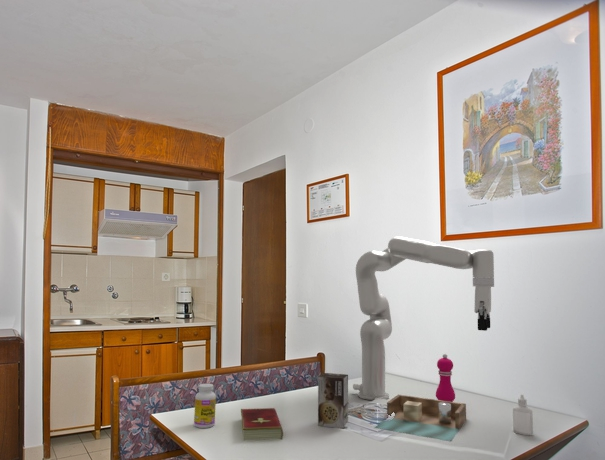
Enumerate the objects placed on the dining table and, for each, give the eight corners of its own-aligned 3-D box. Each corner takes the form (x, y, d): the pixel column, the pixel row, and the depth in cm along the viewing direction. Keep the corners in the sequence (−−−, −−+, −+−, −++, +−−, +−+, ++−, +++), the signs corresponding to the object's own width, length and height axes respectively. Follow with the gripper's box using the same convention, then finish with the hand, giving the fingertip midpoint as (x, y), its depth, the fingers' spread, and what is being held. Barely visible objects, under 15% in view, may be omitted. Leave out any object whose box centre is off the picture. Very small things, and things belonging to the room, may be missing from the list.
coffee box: (348, 423, 158) (349, 374, 160) (344, 429, 152) (344, 378, 154) (322, 420, 161) (323, 372, 163) (317, 426, 155) (317, 375, 157)
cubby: (374, 430, 151) (374, 411, 152) (398, 411, 174) (398, 394, 174) (451, 444, 140) (450, 423, 140) (466, 421, 162) (465, 403, 163)
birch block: (403, 419, 161) (403, 404, 161) (407, 415, 165) (407, 400, 166) (418, 421, 158) (418, 406, 159) (421, 417, 163) (421, 402, 163)
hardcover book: (275, 419, 163) (275, 407, 163) (282, 440, 142) (282, 426, 142) (240, 420, 161) (240, 408, 161) (242, 442, 140) (242, 427, 141)
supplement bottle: (198, 430, 149) (199, 388, 150) (191, 424, 155) (192, 384, 156) (218, 426, 153) (219, 386, 154) (210, 421, 158) (211, 382, 159)
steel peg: (437, 422, 157) (437, 404, 158) (440, 419, 161) (439, 401, 161) (449, 424, 155) (449, 406, 156) (452, 421, 159) (452, 403, 159)
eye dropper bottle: (525, 436, 148) (524, 397, 149) (511, 431, 153) (510, 393, 154) (535, 435, 149) (534, 396, 151) (521, 429, 155) (519, 392, 156)
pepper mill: (453, 405, 183) (452, 352, 185) (457, 410, 176) (456, 355, 178) (434, 404, 184) (433, 352, 186) (437, 409, 177) (437, 355, 179)
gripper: (476, 282, 186) (476, 326, 185) (469, 282, 171) (470, 330, 169) (496, 282, 183) (497, 327, 181) (491, 283, 167) (492, 332, 166)
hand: (484, 329), depth 175 cm, fingers open, 9 cm apart
